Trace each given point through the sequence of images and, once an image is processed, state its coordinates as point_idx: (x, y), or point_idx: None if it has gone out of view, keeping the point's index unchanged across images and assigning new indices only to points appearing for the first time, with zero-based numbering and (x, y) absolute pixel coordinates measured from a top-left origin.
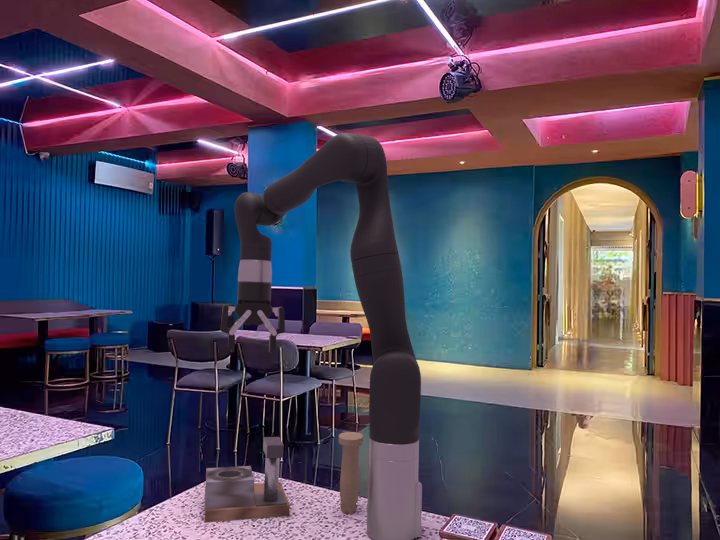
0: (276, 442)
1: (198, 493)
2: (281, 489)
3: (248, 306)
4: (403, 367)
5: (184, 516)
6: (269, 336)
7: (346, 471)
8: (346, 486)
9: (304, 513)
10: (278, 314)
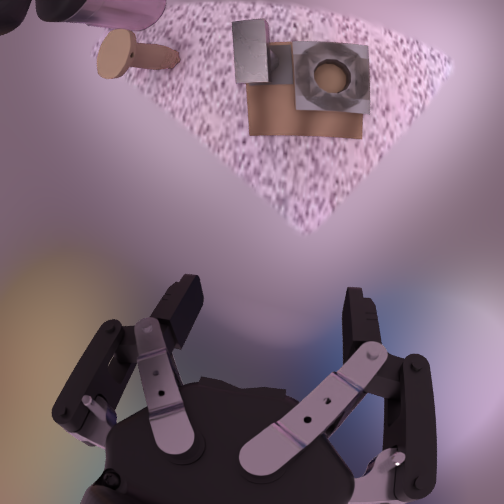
0: (244, 39)
1: (367, 150)
2: (250, 103)
3: (253, 500)
4: None
5: (384, 73)
6: (180, 342)
7: (149, 44)
8: (160, 45)
9: (226, 53)
10: (86, 397)
